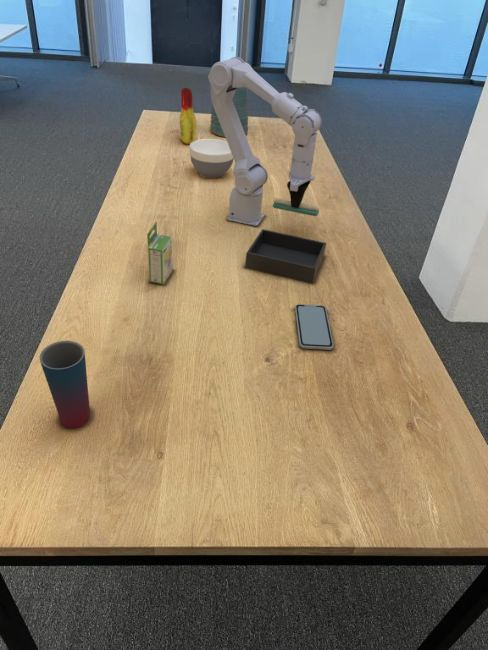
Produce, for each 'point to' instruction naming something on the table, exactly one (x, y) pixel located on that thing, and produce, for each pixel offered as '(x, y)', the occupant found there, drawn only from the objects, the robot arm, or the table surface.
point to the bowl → (211, 157)
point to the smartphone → (313, 327)
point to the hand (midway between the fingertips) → (295, 205)
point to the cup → (67, 381)
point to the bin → (286, 255)
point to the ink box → (159, 256)
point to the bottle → (187, 117)
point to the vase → (241, 108)
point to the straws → (302, 208)
